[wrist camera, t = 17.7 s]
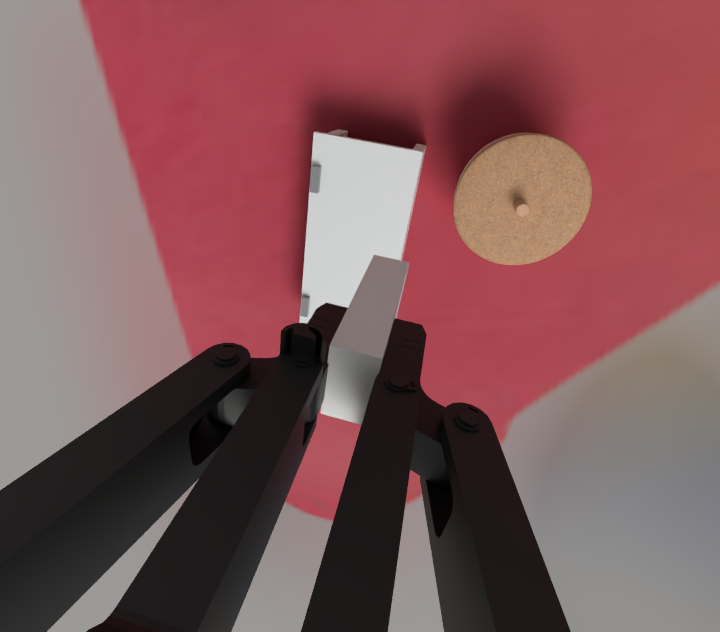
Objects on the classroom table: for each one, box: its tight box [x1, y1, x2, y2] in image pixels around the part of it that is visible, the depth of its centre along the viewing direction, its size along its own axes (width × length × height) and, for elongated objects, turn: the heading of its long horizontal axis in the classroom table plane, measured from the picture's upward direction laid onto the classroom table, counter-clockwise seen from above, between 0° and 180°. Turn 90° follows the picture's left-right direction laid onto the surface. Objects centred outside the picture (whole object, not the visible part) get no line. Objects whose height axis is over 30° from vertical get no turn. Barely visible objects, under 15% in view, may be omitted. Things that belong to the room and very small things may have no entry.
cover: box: [300, 131, 424, 323], centre depth 41 cm, size 22×10×1 cm, turn 172°
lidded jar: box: [453, 132, 592, 265], centre depth 35 cm, size 11×11×9 cm
